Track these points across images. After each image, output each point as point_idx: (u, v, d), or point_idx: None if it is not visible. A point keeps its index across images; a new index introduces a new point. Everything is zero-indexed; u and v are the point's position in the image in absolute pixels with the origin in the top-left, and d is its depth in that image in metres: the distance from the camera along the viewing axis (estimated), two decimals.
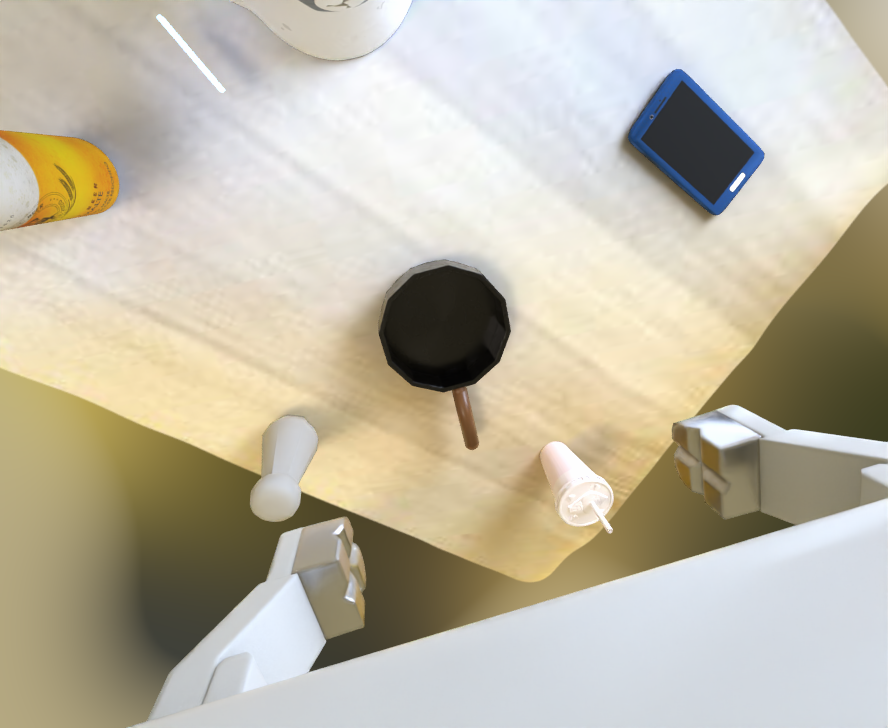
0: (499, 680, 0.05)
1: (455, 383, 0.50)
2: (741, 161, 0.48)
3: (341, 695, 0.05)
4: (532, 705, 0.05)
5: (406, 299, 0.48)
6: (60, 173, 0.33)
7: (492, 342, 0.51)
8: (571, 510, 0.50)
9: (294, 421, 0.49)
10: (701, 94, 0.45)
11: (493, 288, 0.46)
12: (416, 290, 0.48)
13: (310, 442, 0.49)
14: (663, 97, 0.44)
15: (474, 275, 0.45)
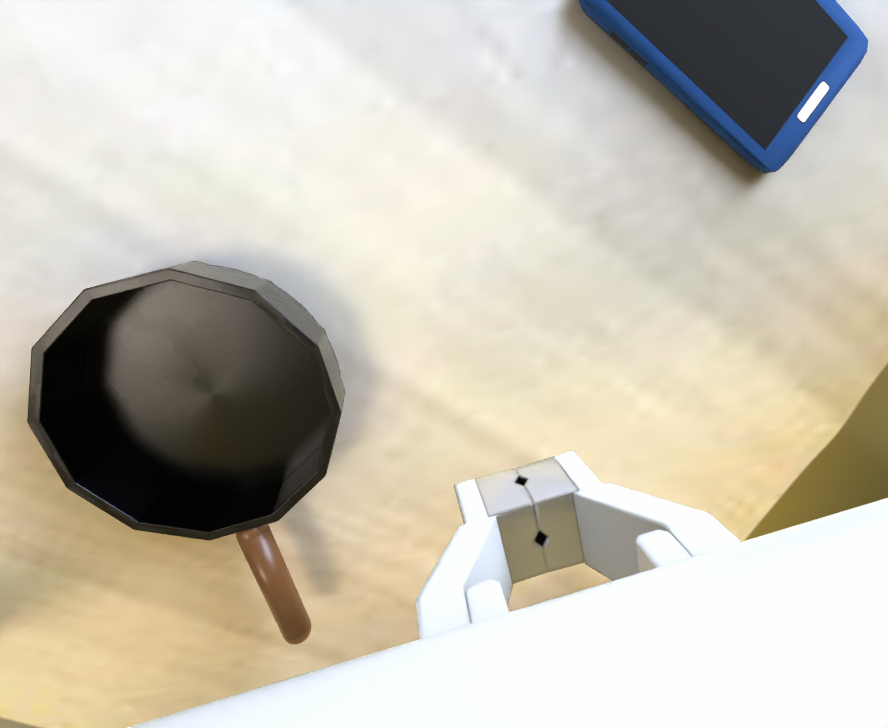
0: (499, 680, 0.05)
1: (238, 519, 0.24)
2: (821, 56, 0.23)
3: (342, 694, 0.05)
4: (532, 705, 0.05)
5: (124, 346, 0.23)
6: None
7: (325, 429, 0.25)
8: None
9: None
10: None
11: (285, 321, 0.21)
12: (143, 327, 0.23)
13: None
14: None
15: (235, 292, 0.20)
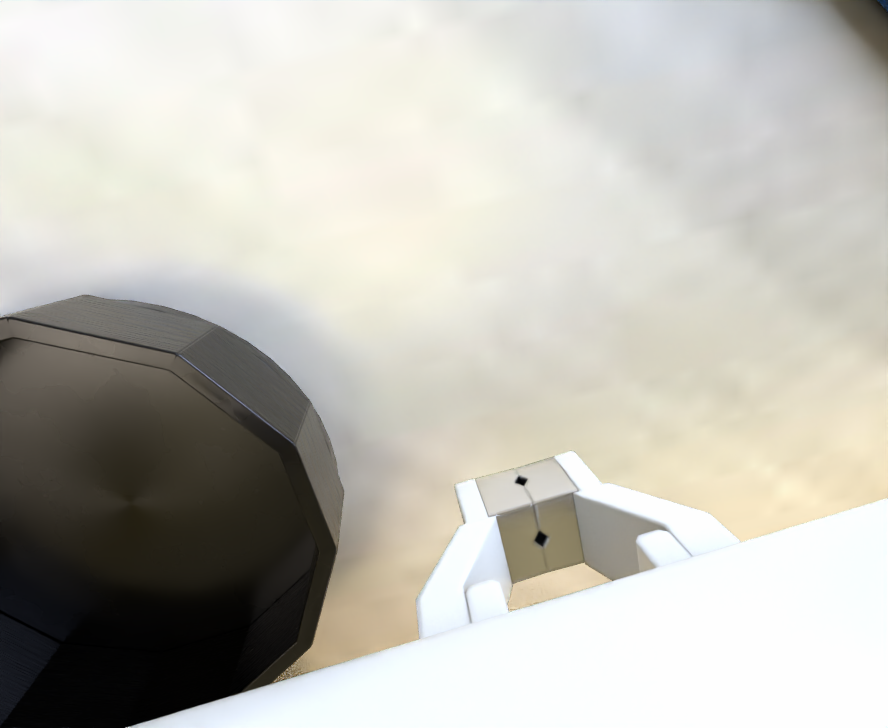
0: (499, 680, 0.05)
1: (170, 711, 0.15)
2: None
3: (342, 695, 0.05)
4: (532, 705, 0.05)
5: None
6: None
7: (314, 552, 0.16)
8: None
9: None
10: None
11: (235, 406, 0.11)
12: (6, 404, 0.14)
13: None
14: None
15: (139, 357, 0.11)
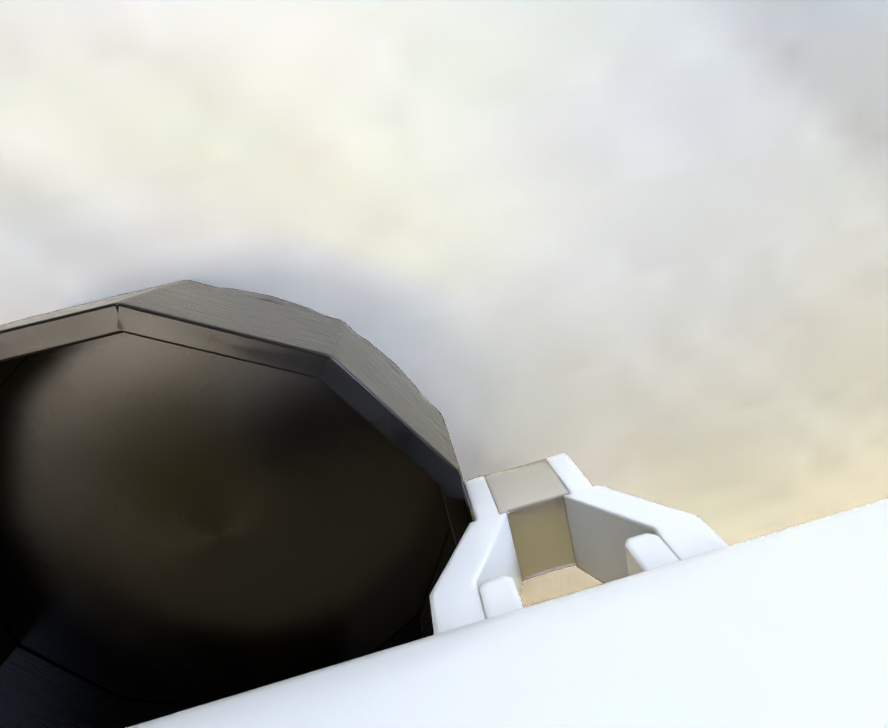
0: (499, 680, 0.05)
1: None
2: None
3: (342, 694, 0.05)
4: (532, 705, 0.05)
5: (39, 452, 0.11)
6: None
7: None
8: None
9: None
10: None
11: (395, 424, 0.09)
12: (79, 414, 0.11)
13: None
14: None
15: (282, 360, 0.08)
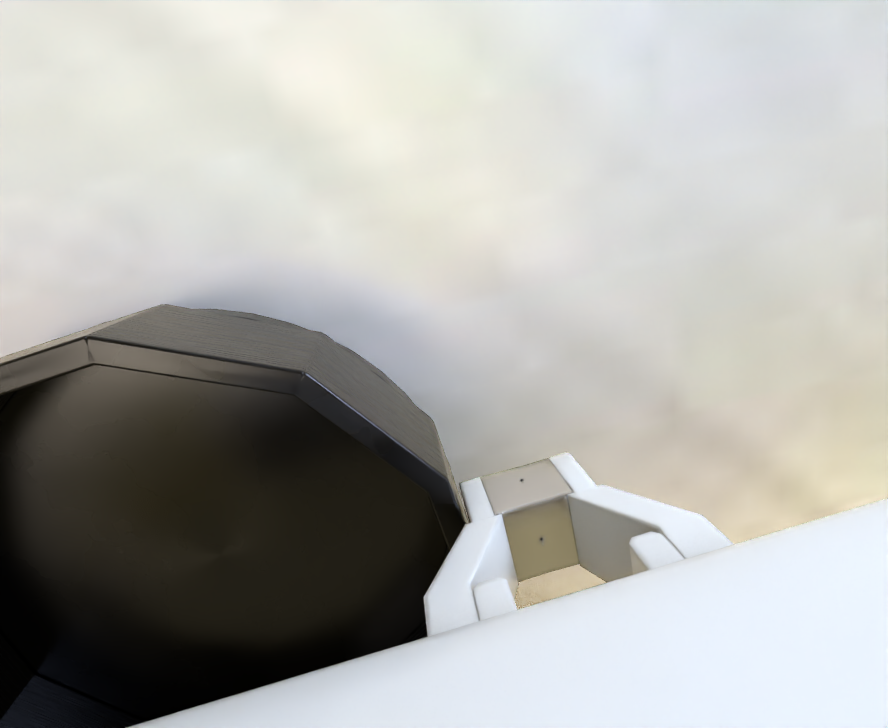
0: (499, 680, 0.05)
1: None
2: None
3: (342, 694, 0.05)
4: (532, 705, 0.05)
5: (36, 484, 0.11)
6: None
7: None
8: None
9: None
10: None
11: (376, 436, 0.09)
12: (71, 445, 0.11)
13: None
14: None
15: (256, 380, 0.08)
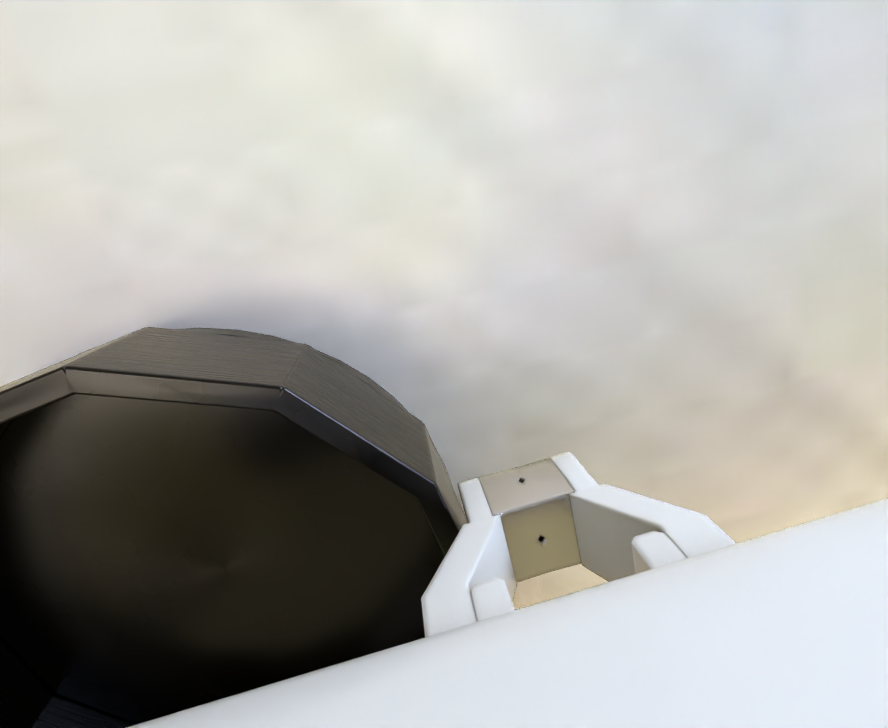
0: (499, 680, 0.05)
1: None
2: None
3: (341, 695, 0.05)
4: (532, 705, 0.05)
5: (38, 511, 0.11)
6: None
7: None
8: None
9: None
10: None
11: (359, 446, 0.09)
12: (68, 470, 0.11)
13: None
14: None
15: (235, 398, 0.08)
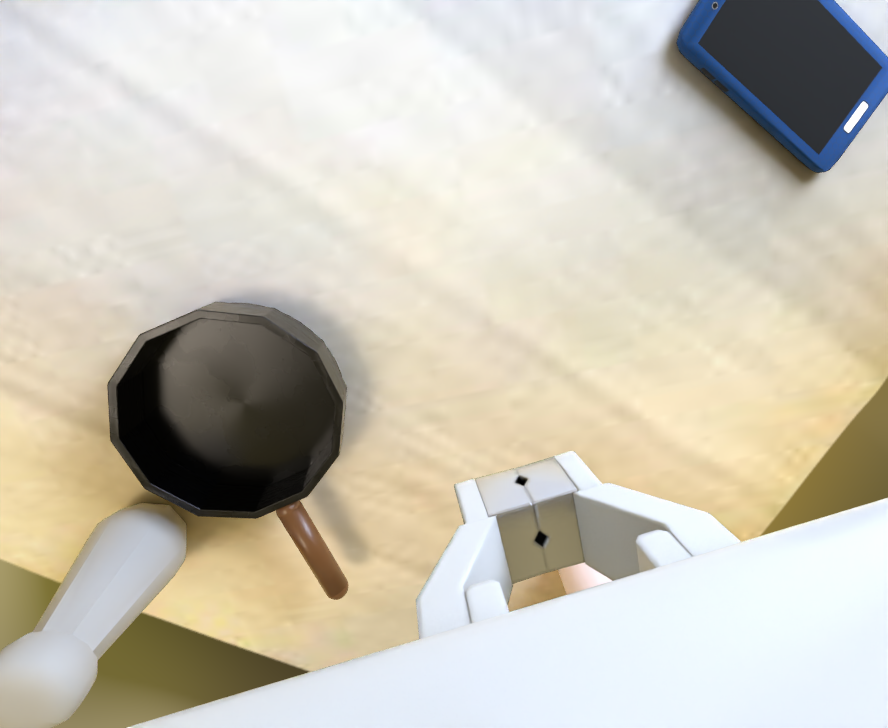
0: (499, 680, 0.05)
1: (276, 499, 0.30)
2: (861, 82, 0.30)
3: (342, 694, 0.05)
4: (532, 705, 0.05)
5: (171, 375, 0.29)
6: None
7: None
8: None
9: (138, 516, 0.29)
10: None
11: (289, 337, 0.27)
12: (184, 358, 0.29)
13: (161, 553, 0.29)
14: None
15: (249, 320, 0.26)
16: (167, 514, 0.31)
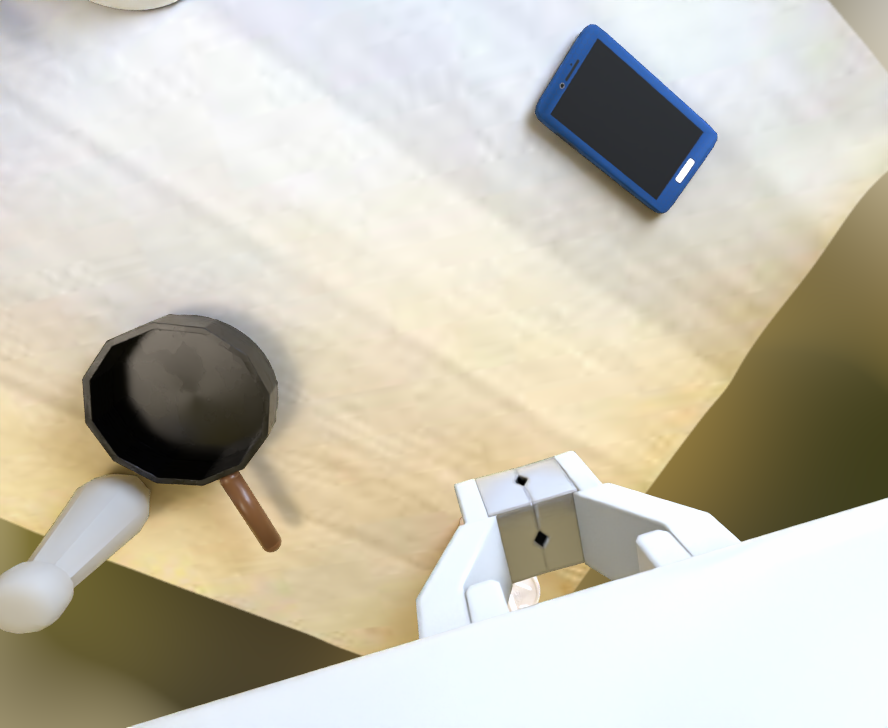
0: (499, 680, 0.05)
1: (219, 470, 0.38)
2: (687, 143, 0.37)
3: (342, 694, 0.05)
4: (532, 705, 0.05)
5: (135, 371, 0.37)
6: None
7: None
8: None
9: (109, 483, 0.37)
10: (625, 56, 0.35)
11: (225, 343, 0.34)
12: (145, 358, 0.37)
13: (126, 512, 0.37)
14: (575, 60, 0.34)
15: (192, 330, 0.34)
16: (133, 482, 0.39)
